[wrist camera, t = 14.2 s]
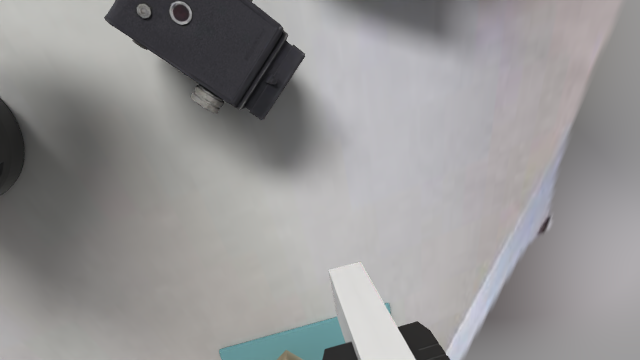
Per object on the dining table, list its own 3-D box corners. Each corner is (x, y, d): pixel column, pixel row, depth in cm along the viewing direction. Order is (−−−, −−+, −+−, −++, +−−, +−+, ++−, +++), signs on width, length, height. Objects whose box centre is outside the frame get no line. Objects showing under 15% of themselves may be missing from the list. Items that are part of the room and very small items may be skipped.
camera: (143, 52, 34) (263, 129, 37) (72, 27, 23) (250, 140, 26) (191, -39, 32) (312, 50, 35) (140, -112, 21) (322, 26, 24)
